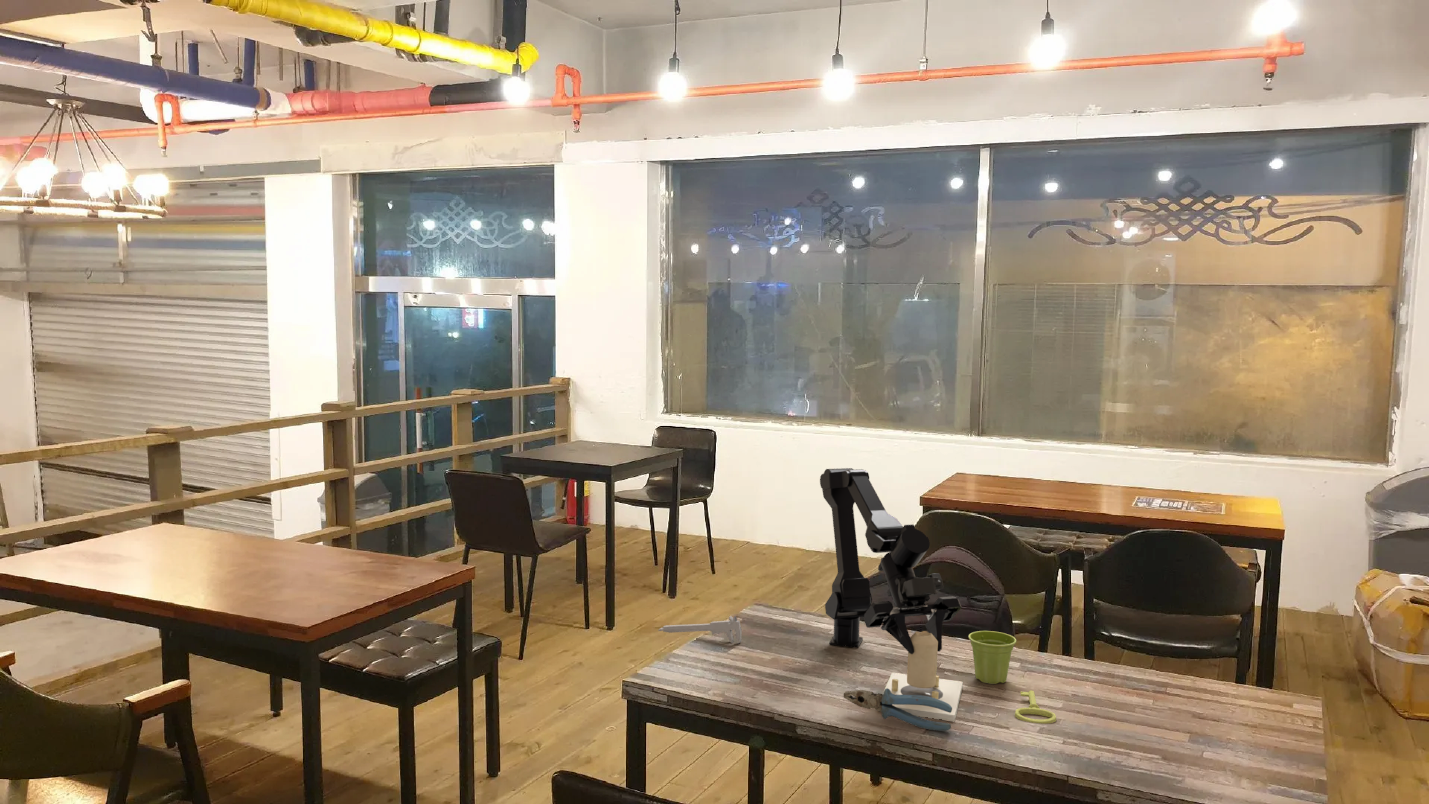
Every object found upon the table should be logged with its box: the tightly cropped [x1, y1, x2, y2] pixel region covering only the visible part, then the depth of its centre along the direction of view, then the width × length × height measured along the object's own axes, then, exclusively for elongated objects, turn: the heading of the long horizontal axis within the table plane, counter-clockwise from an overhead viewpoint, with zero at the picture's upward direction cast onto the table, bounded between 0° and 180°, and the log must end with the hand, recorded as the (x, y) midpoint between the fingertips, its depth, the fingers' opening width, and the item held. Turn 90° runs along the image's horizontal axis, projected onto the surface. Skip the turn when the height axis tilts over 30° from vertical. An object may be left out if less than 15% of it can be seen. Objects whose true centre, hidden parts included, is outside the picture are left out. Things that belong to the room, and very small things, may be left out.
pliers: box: [842, 688, 952, 732], centre depth 184 cm, size 20×2×6 cm, turn 62°
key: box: [1014, 690, 1057, 725], centre depth 191 cm, size 7×12×2 cm, turn 6°
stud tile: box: [883, 672, 964, 723], centre depth 195 cm, size 18×14×3 cm
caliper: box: [657, 615, 742, 644], centre depth 230 cm, size 20×1×6 cm, turn 66°
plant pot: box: [968, 630, 1017, 685], centre depth 207 cm, size 9×9×9 cm
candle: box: [906, 630, 939, 688], centre depth 195 cm, size 6×6×10 cm
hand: (926, 651), depth 194 cm, fingers closed on candle, 5 cm apart
